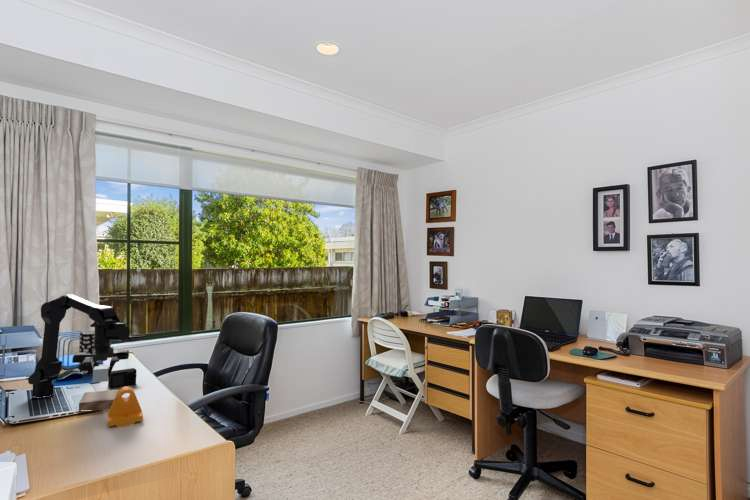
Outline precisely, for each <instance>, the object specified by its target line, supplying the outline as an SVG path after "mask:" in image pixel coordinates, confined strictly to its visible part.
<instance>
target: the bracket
mask: <svg viewBox="0 0 750 500" xmlns="http://www.w3.org/2000/svg"><path fill="white" fill-rule="evenodd" d="M119 389H120V390H119V391H118V393H117V395H116V397H115V399H114V401H113V403H112V406H111V408H110V409H108V413H107V419H106V420H107V426H108V427H113V426H115V427H116V428H119V427H127V426H131V425H130V424H133V425H135V423H137V422H142V421H143V419H144V414H143V409H142V407H141V405H140V403H139V401H138V399H137V395H136V394H135V390H134V389H133V387H131V386H125V387H120V388H119ZM125 394H129V395H128V396H127V397H123V396H124V395H125ZM126 425H127V426H126Z"/></svg>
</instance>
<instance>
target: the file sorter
mask: <svg viewBox="0 0 750 500" xmlns="http://www.w3.org/2000/svg"><path fill="white" fill-rule="evenodd" d="M82 332H83V331H81V330H74V331H62V332H59V337H60V338H58V347H57V358H58V360H59V361H62V365H61V369H62V368H63V369H66V370H70V369H71V370H72V369H75V368H76V369H77V368H78V365H79V362H78V363H72V359H73V356H74V354H70V346H71V344H70V343H71V342H72V341H74V340H75V341H76V340H80V333H82ZM63 338H65V339H64V340H63V344H62V356H60V351H61V350H60V349H61V340H62V339H63ZM69 339H70V340H69ZM67 340H69V342H68V344H67V345H68V346H67V355H65V345H66V344H65V343H66V341H67ZM100 364H104V361H99V365H100Z"/></svg>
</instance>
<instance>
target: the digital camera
mask: <svg viewBox="0 0 750 500" xmlns="http://www.w3.org/2000/svg"><path fill="white" fill-rule="evenodd" d="M135 385H137V369H136V368H135V367H131V368H124V369H117V370H112V371H111V374H110V376H109V378H108V381H107V387H108V388H109V390H114V389H120V388H122V387H125V386H129V387H131V386H135Z"/></svg>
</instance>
